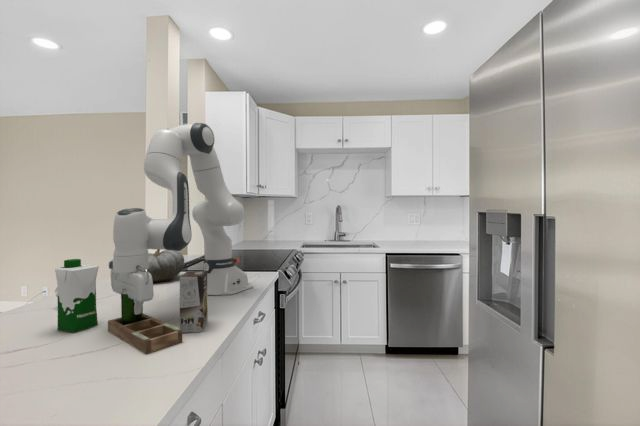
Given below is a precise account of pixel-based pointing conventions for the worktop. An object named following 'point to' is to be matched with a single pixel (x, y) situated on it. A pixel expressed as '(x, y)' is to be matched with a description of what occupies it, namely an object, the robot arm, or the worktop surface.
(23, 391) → the worktop surface
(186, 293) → the coffee box
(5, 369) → the worktop surface
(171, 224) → the robot arm
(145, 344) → the wooden compartment rack
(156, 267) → the gourd
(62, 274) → the milk carton
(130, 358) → the worktop surface
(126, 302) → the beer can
